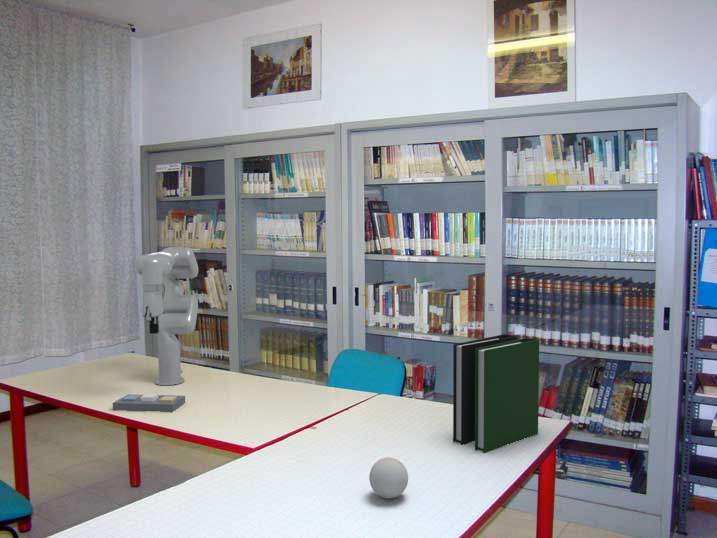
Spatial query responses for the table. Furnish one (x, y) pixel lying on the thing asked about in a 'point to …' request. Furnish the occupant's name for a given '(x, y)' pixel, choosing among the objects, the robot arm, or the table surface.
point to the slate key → (131, 398)
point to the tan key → (168, 399)
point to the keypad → (149, 404)
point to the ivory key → (149, 397)
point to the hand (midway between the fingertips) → (154, 333)
